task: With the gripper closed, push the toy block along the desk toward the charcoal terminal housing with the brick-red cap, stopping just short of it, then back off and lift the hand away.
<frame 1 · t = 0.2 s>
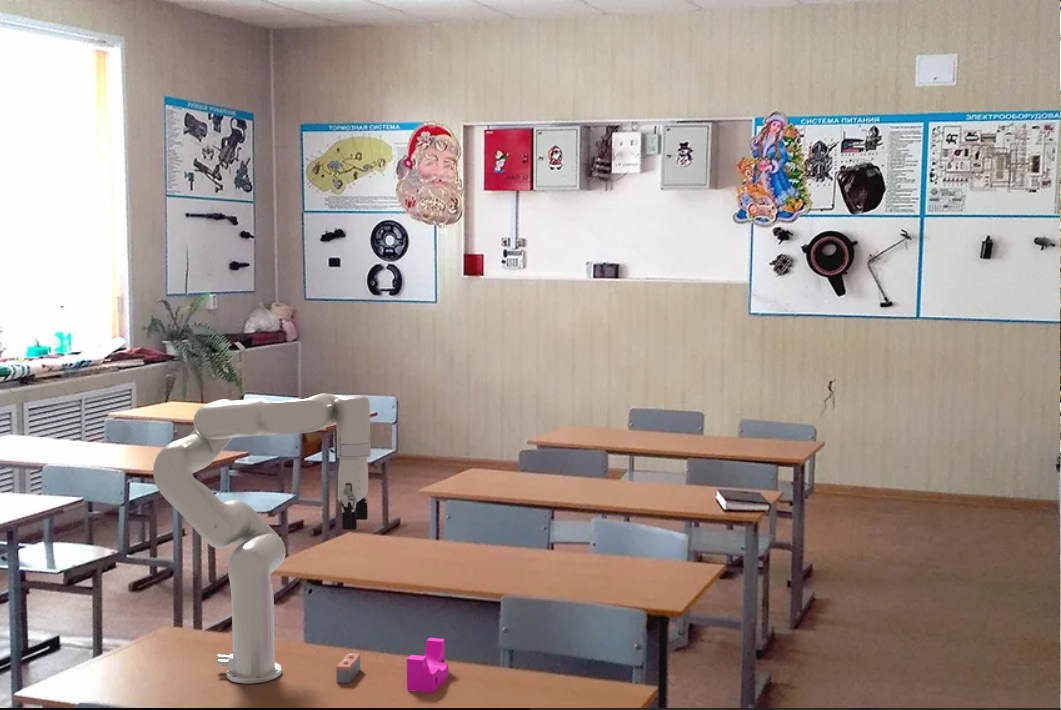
hand: (355, 524, 264), 37 cm above the table, tool pointing down, fingers open, 9 cm apart
terminal housing: (348, 675, 270), on the table
toy block: (431, 681, 268), on the table
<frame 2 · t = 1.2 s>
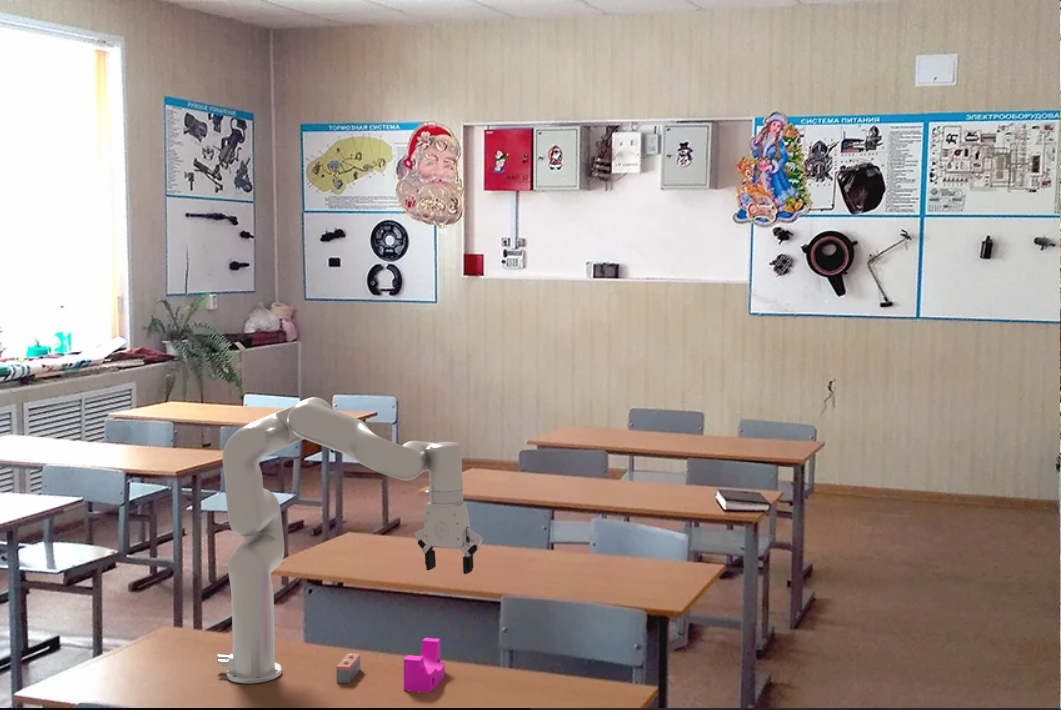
hand: (449, 570, 265), 26 cm above the table, tool pointing down, fingers open, 9 cm apart
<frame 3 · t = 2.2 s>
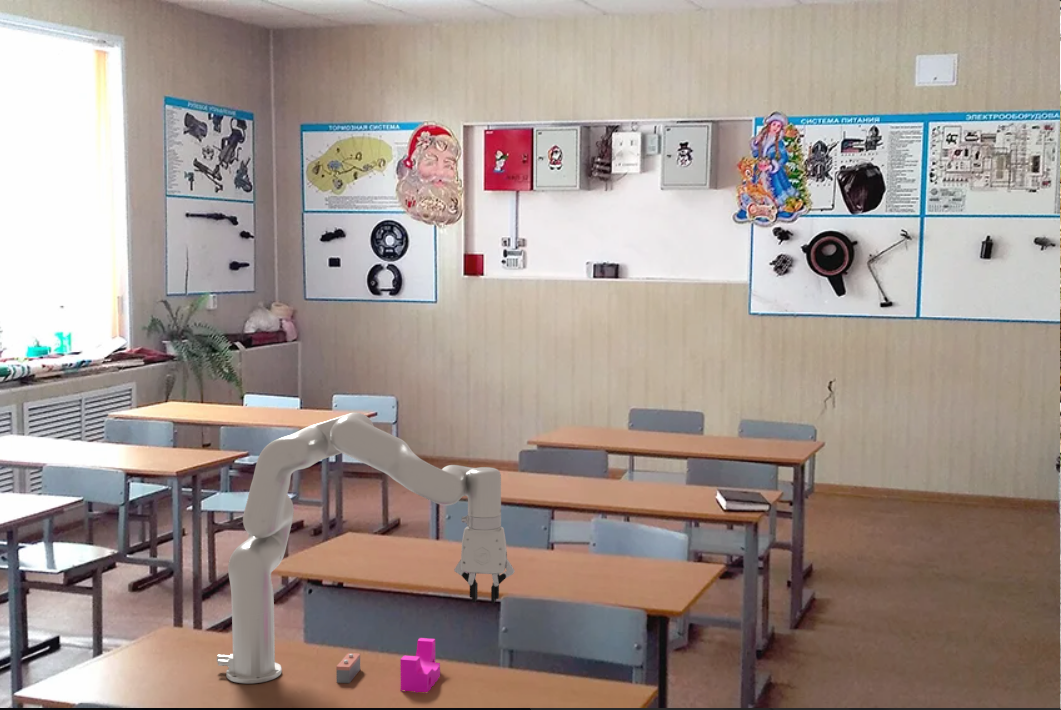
hand: (484, 600, 265), 19 cm above the table, tool pointing down, fingers open, 3 cm apart
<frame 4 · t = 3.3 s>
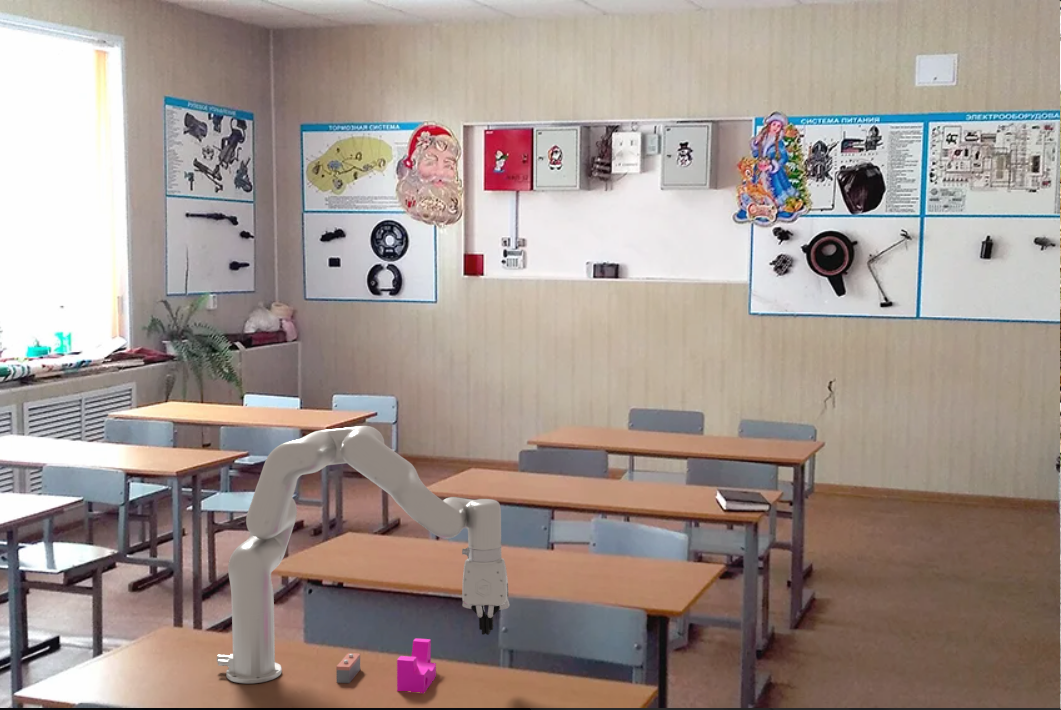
hand: (486, 632, 266), 12 cm above the table, tool pointing down, fingers closed
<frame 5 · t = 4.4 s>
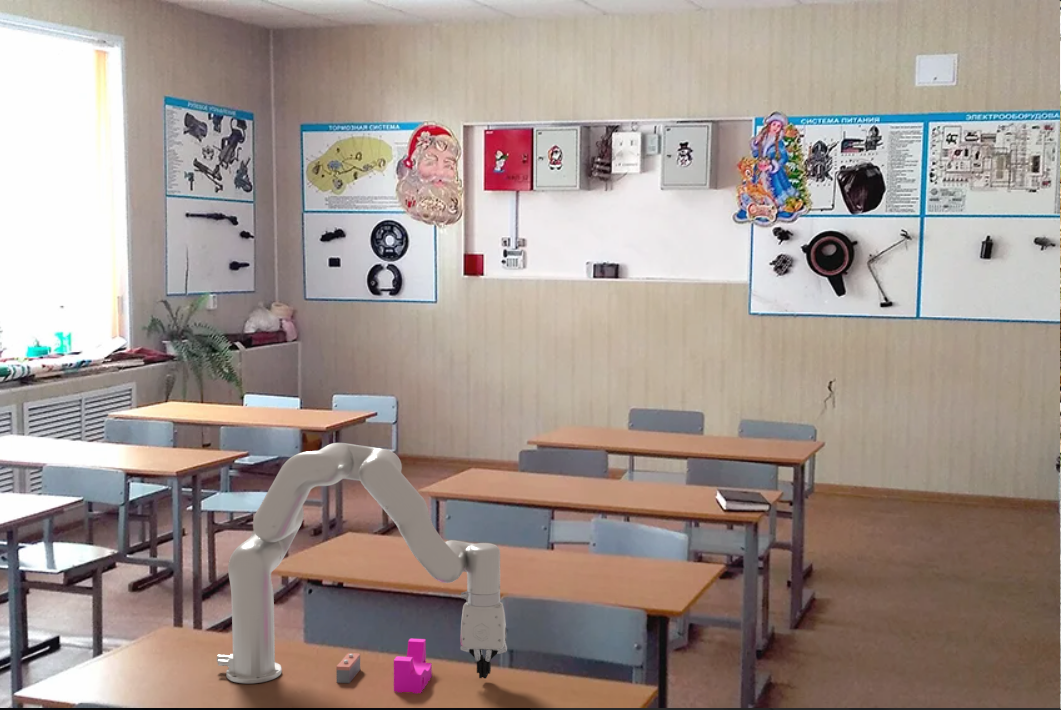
hand: (483, 676, 266), 2 cm above the table, tool pointing down, fingers closed
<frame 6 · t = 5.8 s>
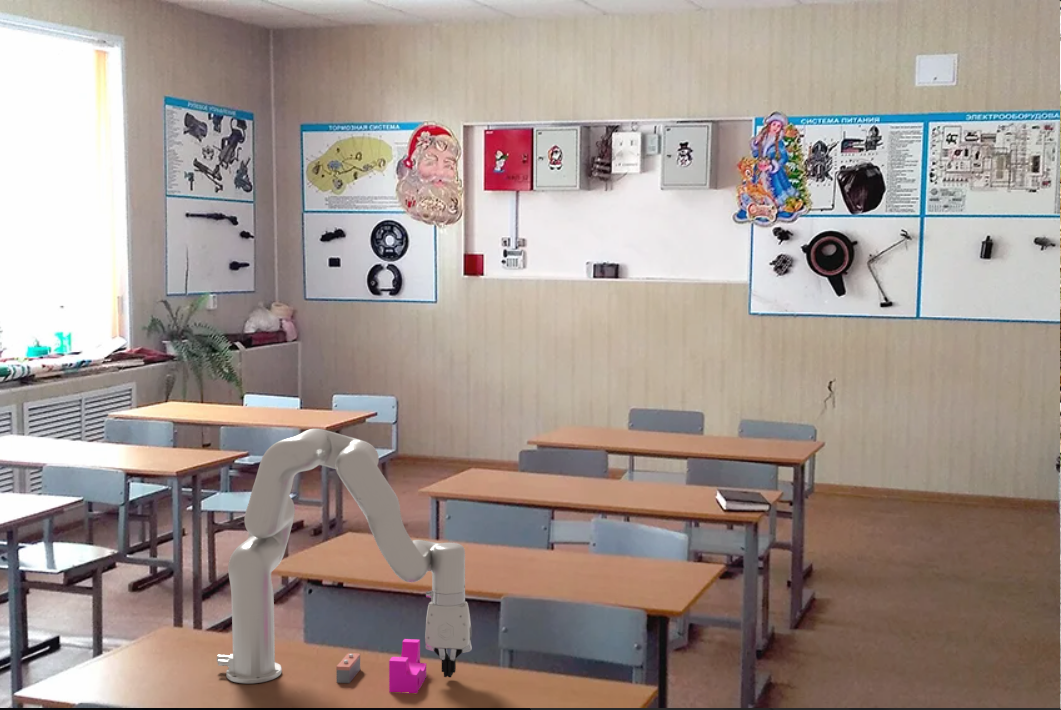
hand: (448, 675, 268), 1 cm above the table, tool pointing down, fingers closed
toy block: (410, 682, 267), on the table
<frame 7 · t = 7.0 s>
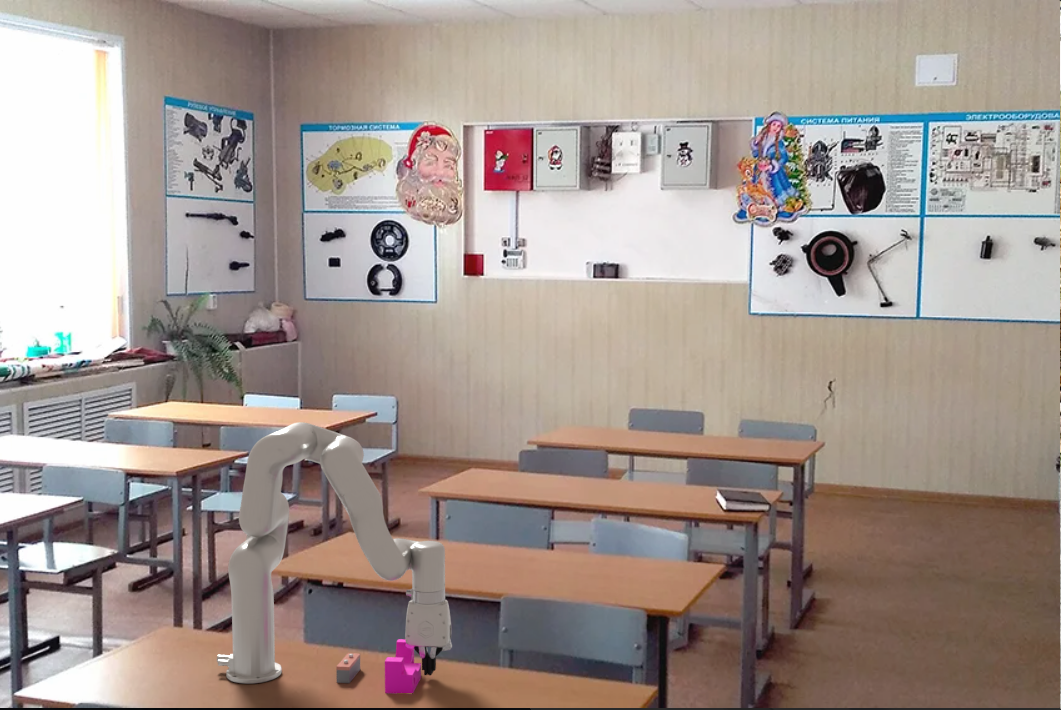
hand: (428, 673, 268), 1 cm above the table, tool pointing down, fingers closed
toy block: (405, 682, 267), on the table
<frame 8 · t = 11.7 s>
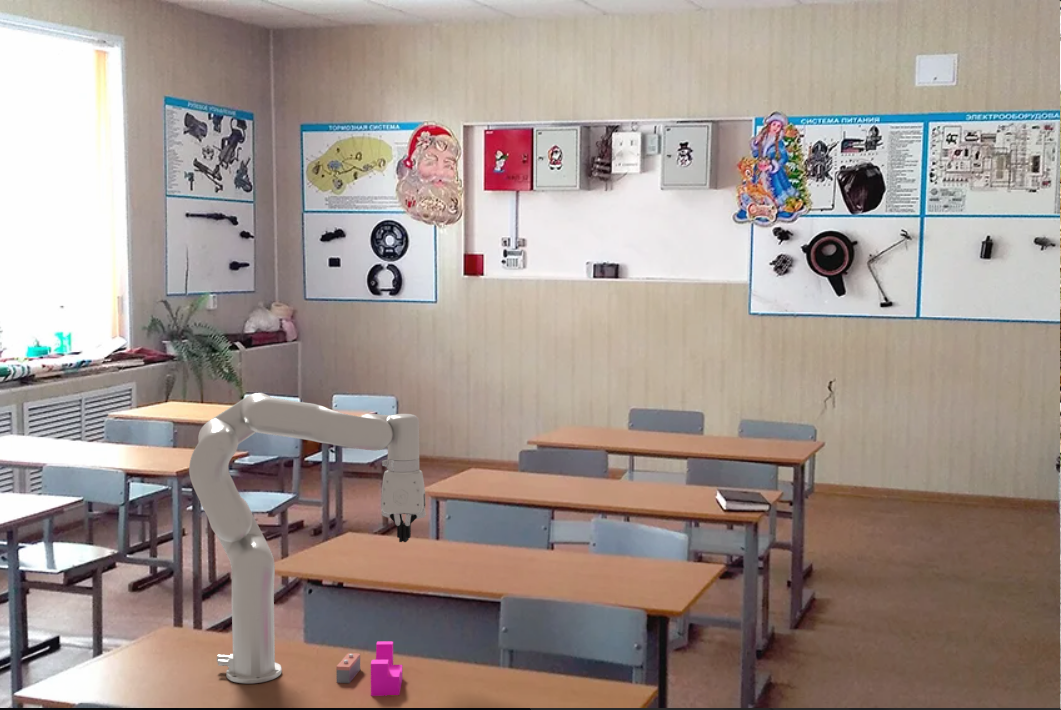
hand: (404, 540, 280), 29 cm above the table, tool pointing down, fingers closed
toy block: (387, 685, 266), on the table
at the end: toy block 10.7 cm from the terminal housing (horizontally); toy block tilted 0°; toy block moved 10.5 cm from its start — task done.
